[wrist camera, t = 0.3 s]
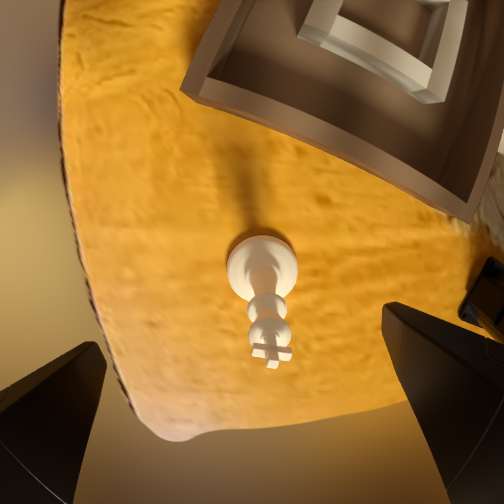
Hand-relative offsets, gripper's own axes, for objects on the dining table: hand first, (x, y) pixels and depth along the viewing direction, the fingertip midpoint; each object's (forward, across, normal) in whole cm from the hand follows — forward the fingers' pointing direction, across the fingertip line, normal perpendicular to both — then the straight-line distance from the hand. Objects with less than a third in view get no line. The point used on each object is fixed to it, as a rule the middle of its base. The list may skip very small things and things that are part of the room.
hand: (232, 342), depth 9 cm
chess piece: (+13, -1, +3) cm, 13 cm away
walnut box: (+13, -12, -14) cm, 22 cm away
